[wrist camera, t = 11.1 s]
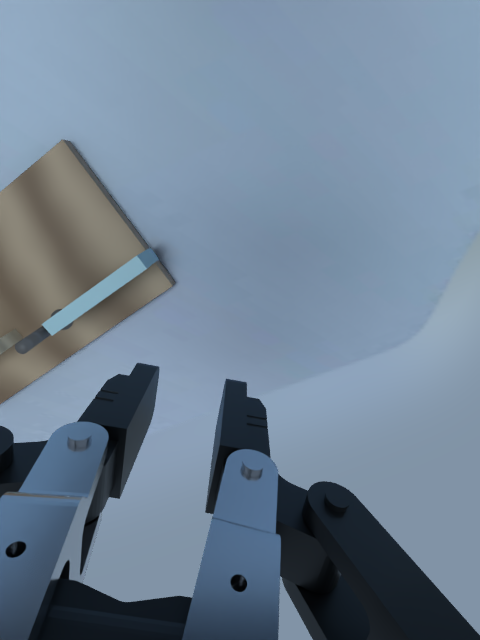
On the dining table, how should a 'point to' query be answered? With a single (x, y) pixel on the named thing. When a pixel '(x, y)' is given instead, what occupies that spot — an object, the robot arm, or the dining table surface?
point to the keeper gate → (100, 291)
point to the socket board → (62, 264)
